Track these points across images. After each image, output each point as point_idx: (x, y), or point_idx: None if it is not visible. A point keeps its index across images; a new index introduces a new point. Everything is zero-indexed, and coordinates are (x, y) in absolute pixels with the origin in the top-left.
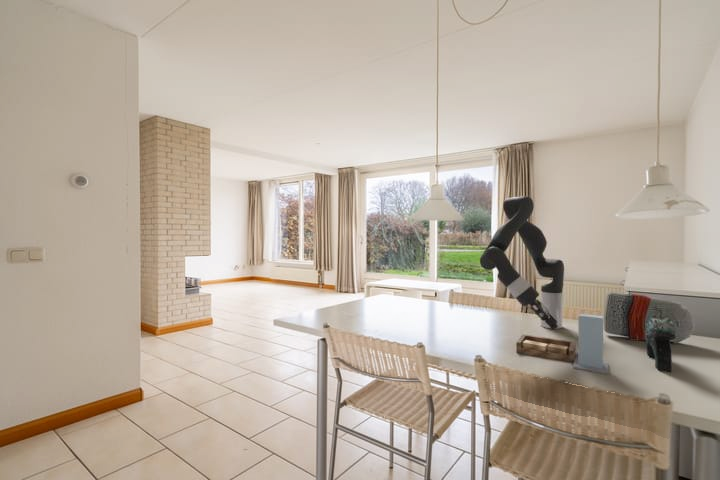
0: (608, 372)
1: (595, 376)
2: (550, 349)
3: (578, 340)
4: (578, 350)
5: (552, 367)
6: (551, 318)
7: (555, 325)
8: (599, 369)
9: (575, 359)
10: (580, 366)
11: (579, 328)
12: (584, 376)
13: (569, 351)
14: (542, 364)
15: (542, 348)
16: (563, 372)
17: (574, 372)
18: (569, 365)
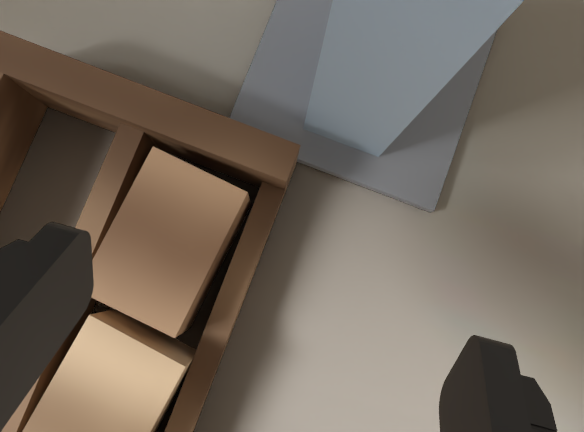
0: None
1: (554, 117)
2: (189, 313)
3: (437, 93)
4: (405, 126)
5: (450, 361)
6: (26, 328)
7: (537, 388)
8: None
9: None
10: (423, 157)
11: (502, 14)
12: (574, 189)
13: (287, 177)
14: (401, 422)
15: (177, 384)
16: (535, 309)
17: (515, 231)
18: (374, 219)
